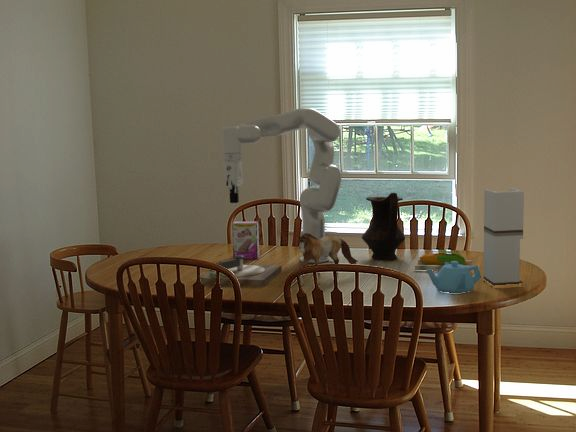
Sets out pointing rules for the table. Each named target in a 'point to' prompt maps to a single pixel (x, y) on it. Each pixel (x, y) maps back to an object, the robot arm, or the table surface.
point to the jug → (384, 228)
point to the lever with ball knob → (233, 262)
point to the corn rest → (433, 266)
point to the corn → (442, 258)
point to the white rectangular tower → (503, 235)
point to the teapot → (455, 277)
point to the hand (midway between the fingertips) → (234, 202)
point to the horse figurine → (323, 250)
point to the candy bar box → (246, 239)
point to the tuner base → (245, 275)
